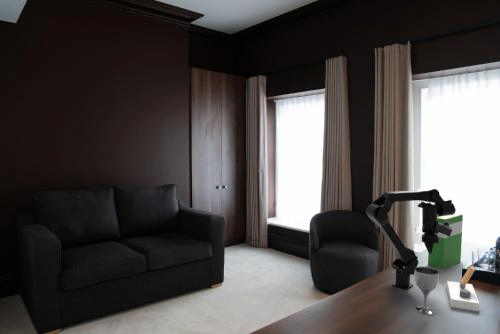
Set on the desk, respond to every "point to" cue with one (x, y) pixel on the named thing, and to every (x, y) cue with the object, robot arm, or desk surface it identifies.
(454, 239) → the cereal box
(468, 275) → the paddle lever
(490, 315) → the desk surface
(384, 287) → the desk surface
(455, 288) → the switch panel
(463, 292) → the push button
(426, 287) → the wine glass
